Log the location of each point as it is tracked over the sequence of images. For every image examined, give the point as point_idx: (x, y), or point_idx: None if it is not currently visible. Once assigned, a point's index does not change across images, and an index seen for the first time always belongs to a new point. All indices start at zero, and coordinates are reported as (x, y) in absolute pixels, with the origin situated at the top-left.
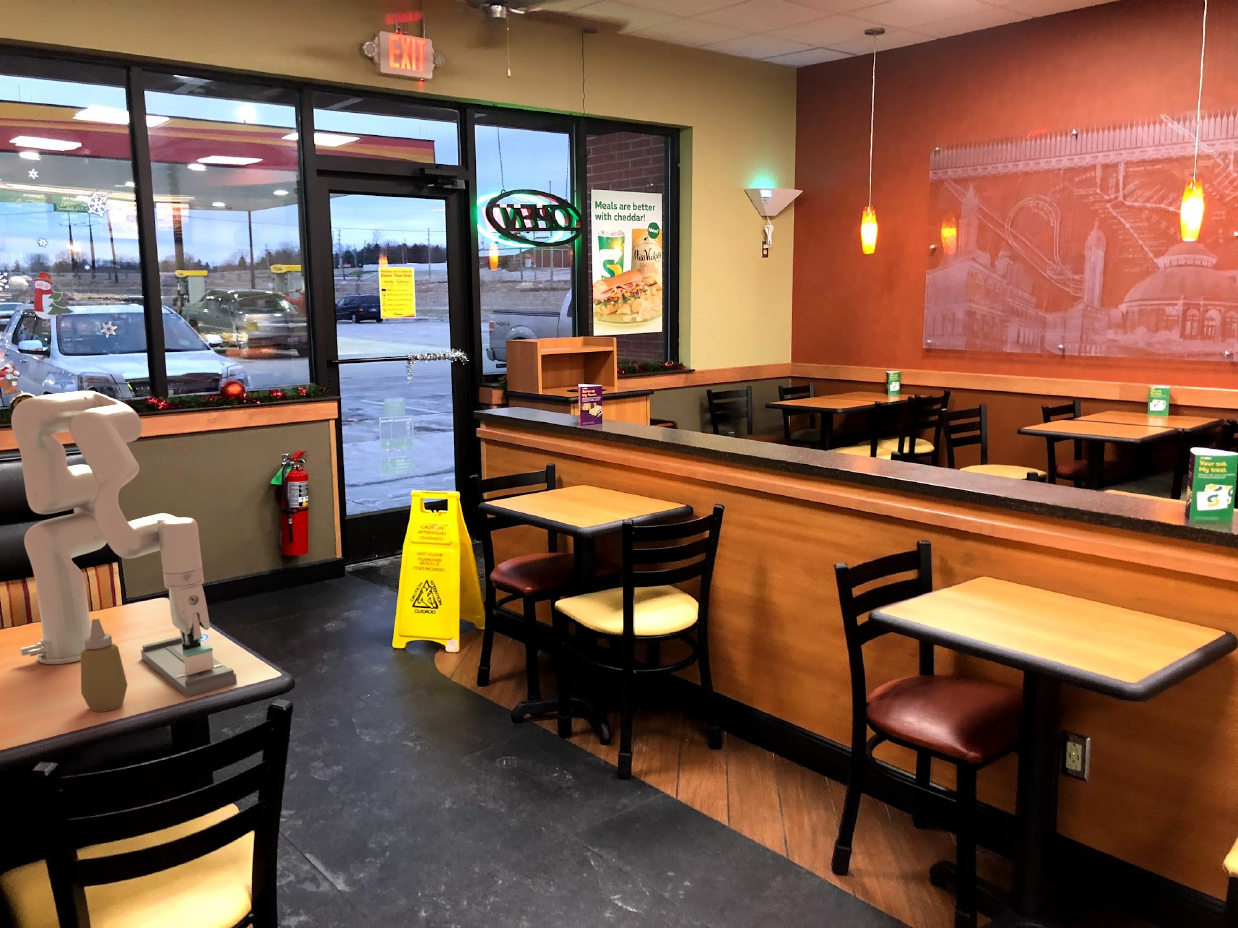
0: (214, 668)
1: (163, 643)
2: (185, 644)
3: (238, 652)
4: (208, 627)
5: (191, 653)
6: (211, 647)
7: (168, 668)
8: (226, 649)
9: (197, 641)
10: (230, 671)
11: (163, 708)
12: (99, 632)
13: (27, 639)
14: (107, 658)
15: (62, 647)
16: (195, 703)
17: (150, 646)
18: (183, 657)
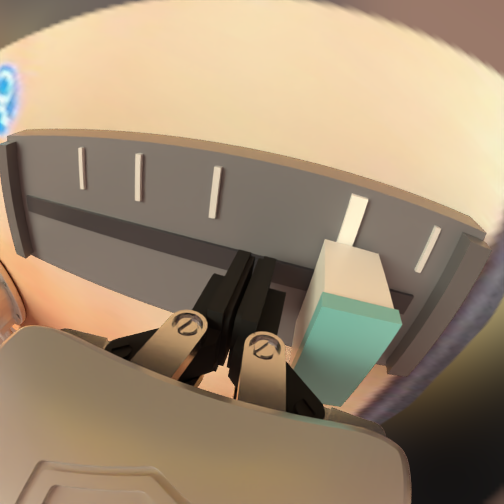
0: (358, 233)
1: (16, 211)
2: (217, 361)
3: (165, 12)
4: (406, 459)
5: (349, 392)
6: (394, 324)
7: (192, 308)
8: (104, 39)
9: (290, 370)
10: (485, 260)
11: (390, 389)
12: None
13: None
14: None
15: (4, 321)
16: (445, 351)
17: (23, 243)
18: (130, 230)
